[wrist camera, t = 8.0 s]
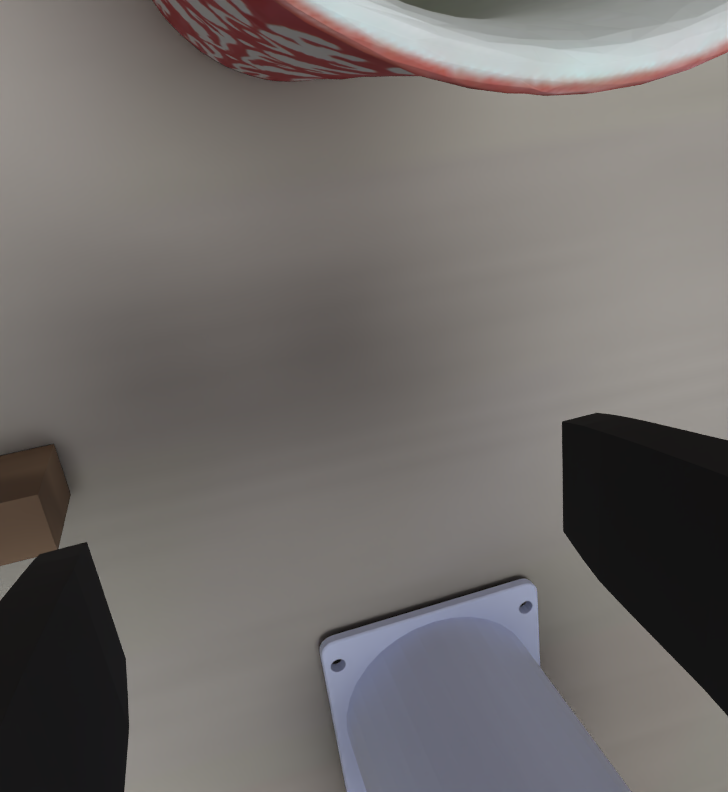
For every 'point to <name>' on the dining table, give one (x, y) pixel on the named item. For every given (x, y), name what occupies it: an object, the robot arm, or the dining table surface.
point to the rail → (31, 503)
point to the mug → (459, 40)
